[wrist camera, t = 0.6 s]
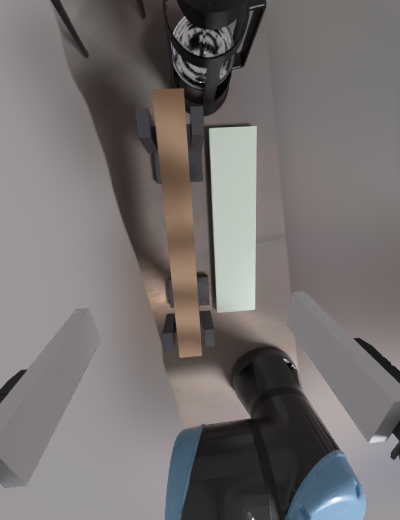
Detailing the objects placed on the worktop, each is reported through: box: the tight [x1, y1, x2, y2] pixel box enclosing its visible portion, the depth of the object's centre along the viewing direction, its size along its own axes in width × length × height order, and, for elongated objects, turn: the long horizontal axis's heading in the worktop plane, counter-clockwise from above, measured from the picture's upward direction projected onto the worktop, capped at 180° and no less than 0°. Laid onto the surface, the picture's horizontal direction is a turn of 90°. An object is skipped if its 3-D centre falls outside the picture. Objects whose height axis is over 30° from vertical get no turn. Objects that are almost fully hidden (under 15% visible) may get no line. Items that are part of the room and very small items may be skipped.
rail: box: [152, 88, 202, 358], centre depth 23 cm, size 30×3×3 cm, turn 4°
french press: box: [163, 0, 266, 116], centre depth 20 cm, size 12×9×23 cm
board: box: [208, 126, 257, 313], centre depth 36 cm, size 34×8×1 cm, turn 4°
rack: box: [135, 106, 215, 350], centre depth 29 cm, size 30×8×16 cm, turn 3°
